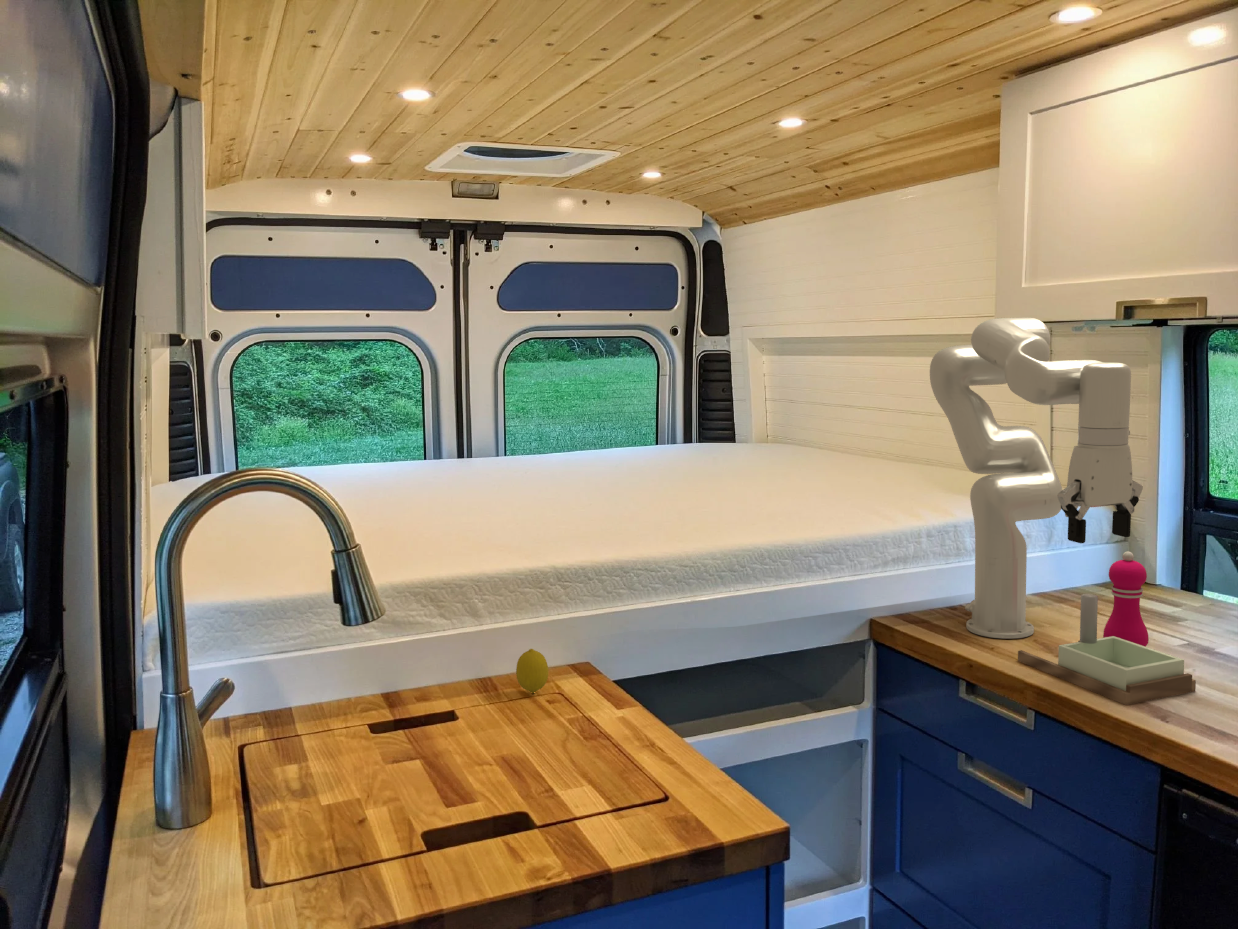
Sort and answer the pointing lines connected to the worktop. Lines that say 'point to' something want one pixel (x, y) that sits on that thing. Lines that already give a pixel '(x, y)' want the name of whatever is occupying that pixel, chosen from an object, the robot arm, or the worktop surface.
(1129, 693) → the bay
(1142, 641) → the pepper mill
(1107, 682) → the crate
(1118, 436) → the robot arm
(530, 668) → the lemon
